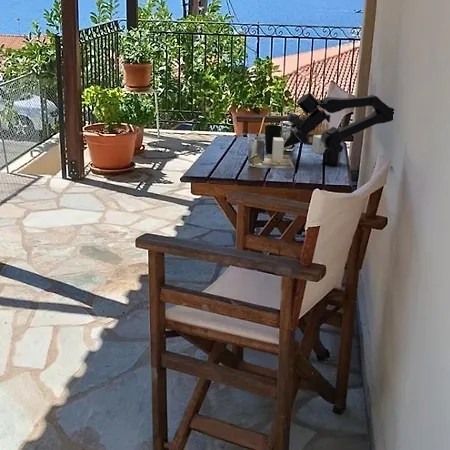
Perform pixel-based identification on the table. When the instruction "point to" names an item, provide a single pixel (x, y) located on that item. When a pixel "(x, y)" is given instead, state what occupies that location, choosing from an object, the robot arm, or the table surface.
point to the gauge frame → (268, 161)
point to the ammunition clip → (317, 132)
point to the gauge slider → (277, 150)
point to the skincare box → (318, 145)
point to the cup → (271, 136)
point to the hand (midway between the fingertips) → (283, 146)
